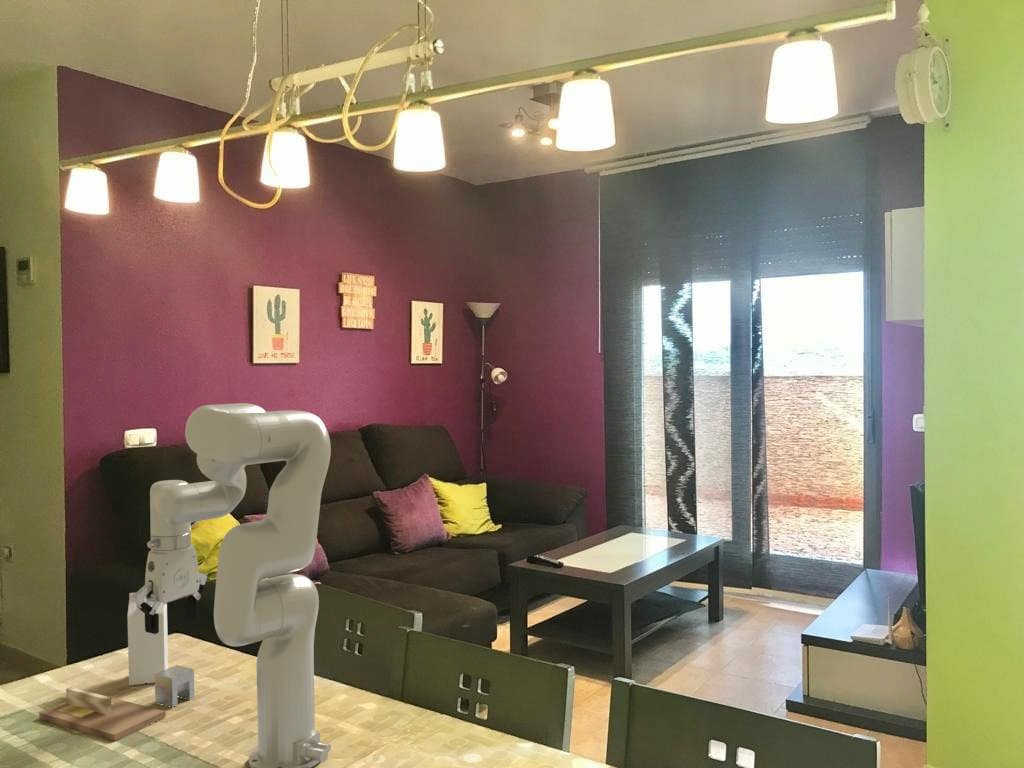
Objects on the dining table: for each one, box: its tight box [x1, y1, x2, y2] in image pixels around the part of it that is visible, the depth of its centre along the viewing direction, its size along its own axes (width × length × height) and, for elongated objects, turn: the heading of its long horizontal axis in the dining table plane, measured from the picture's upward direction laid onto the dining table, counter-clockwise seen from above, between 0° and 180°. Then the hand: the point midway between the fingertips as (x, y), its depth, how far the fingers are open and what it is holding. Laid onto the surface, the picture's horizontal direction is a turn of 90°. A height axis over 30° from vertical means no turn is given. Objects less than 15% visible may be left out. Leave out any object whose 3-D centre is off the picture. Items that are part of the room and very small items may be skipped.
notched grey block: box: [154, 664, 195, 708], centre depth 167 cm, size 5×5×6 cm
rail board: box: [38, 686, 167, 742], centre depth 159 cm, size 22×11×4 cm, turn 63°
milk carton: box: [126, 592, 169, 686], centre depth 179 cm, size 7×7×19 cm
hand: (172, 625), depth 167 cm, fingers open, 9 cm apart
